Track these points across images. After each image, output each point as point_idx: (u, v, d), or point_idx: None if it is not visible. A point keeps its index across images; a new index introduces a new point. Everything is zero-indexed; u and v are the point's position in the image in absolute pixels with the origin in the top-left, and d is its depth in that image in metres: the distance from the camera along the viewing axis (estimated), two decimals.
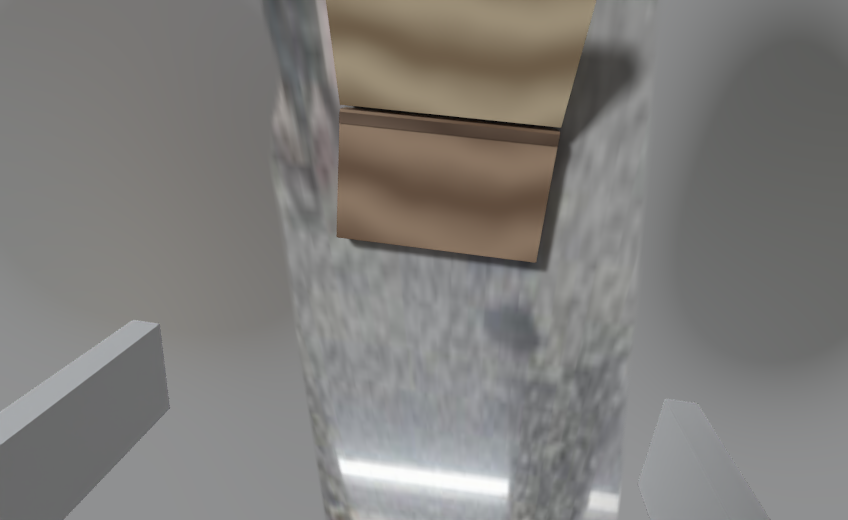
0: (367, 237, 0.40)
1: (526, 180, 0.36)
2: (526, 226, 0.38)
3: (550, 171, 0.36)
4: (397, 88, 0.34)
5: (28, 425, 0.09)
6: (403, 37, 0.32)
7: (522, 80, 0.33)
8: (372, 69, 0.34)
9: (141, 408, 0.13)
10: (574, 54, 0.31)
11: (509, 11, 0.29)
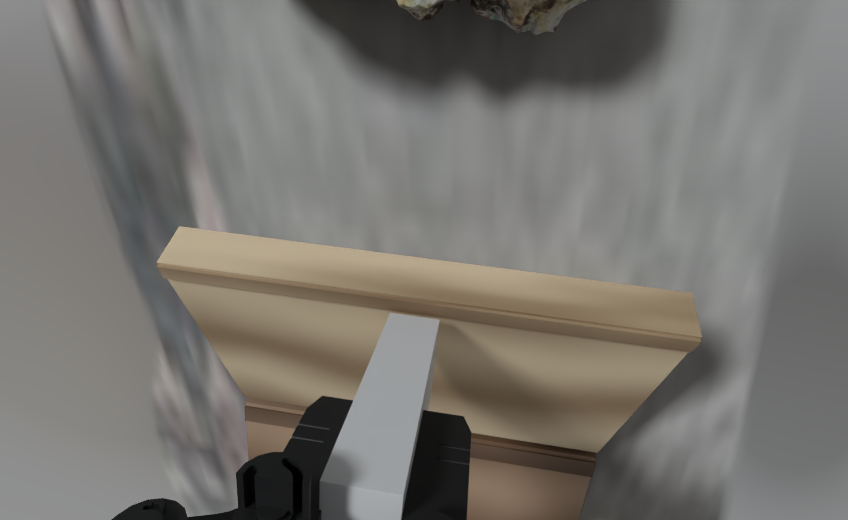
0: None
1: (539, 513, 0.23)
2: None
3: (578, 505, 0.23)
4: (330, 395, 0.21)
5: (387, 400, 0.11)
6: (331, 356, 0.18)
7: (536, 411, 0.19)
8: (287, 376, 0.20)
9: None
10: (629, 402, 0.17)
11: (516, 352, 0.16)
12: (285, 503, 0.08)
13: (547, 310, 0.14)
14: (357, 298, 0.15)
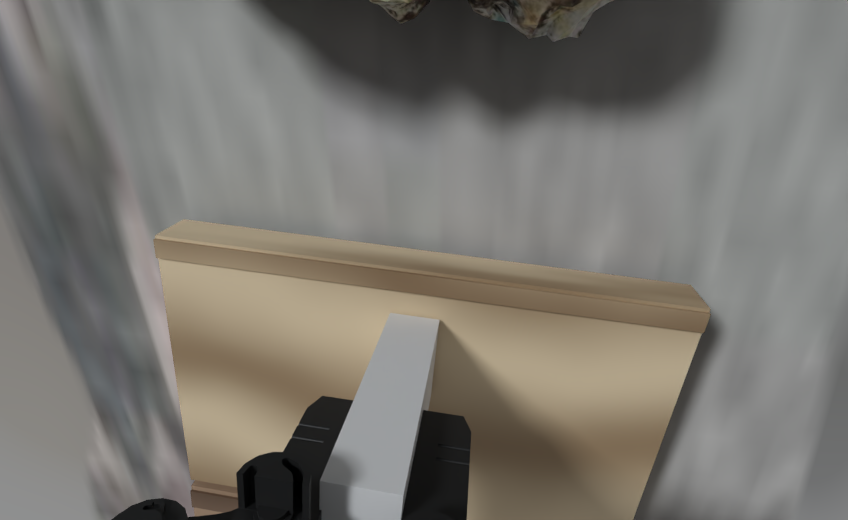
0: None
1: None
2: None
3: None
4: None
5: (387, 399, 0.11)
6: (313, 382, 0.16)
7: (543, 471, 0.16)
8: (253, 428, 0.17)
9: None
10: (648, 437, 0.15)
11: (520, 355, 0.15)
12: (285, 503, 0.08)
13: (552, 285, 0.14)
14: (358, 273, 0.14)
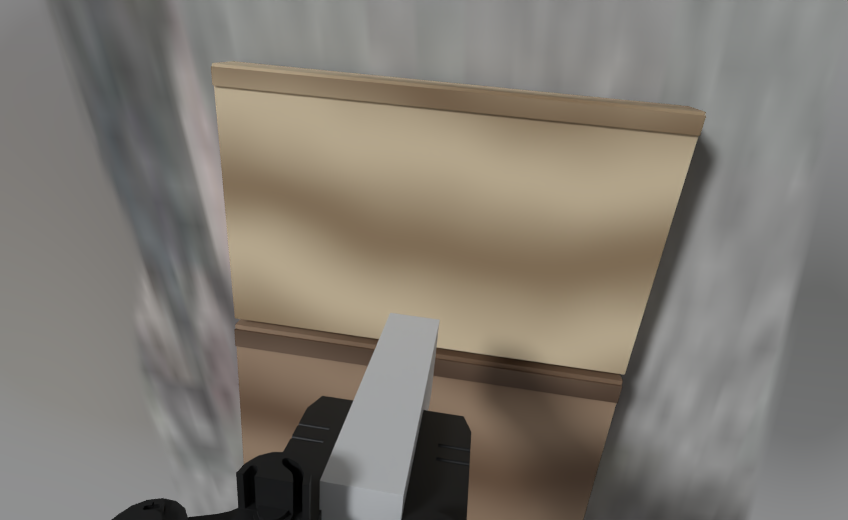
0: None
1: (558, 447, 0.21)
2: (557, 509, 0.22)
3: (602, 437, 0.21)
4: (335, 294, 0.20)
5: (387, 400, 0.11)
6: (350, 208, 0.18)
7: (556, 289, 0.18)
8: (294, 261, 0.19)
9: None
10: (651, 248, 0.17)
11: (537, 169, 0.17)
12: (285, 503, 0.08)
13: (566, 97, 0.16)
14: (394, 90, 0.16)
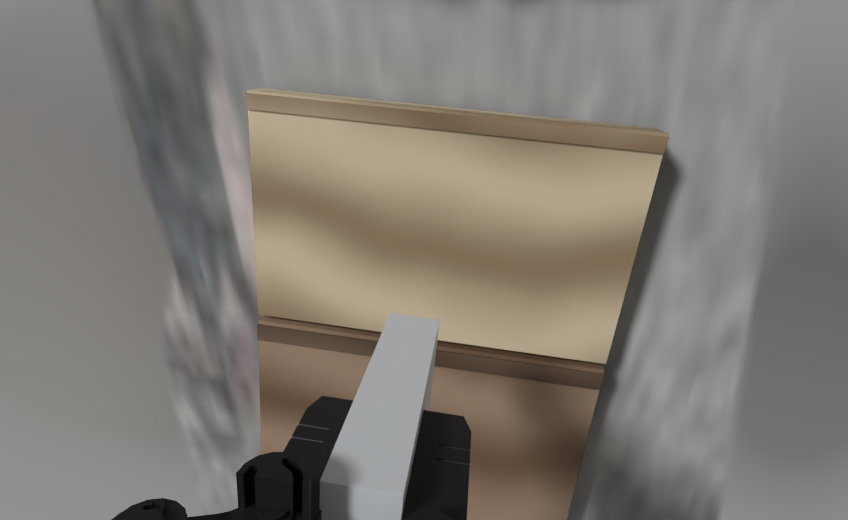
0: None
1: (548, 432, 0.23)
2: (548, 491, 0.24)
3: (587, 422, 0.23)
4: (349, 292, 0.22)
5: (387, 400, 0.11)
6: (363, 215, 0.21)
7: (544, 287, 0.21)
8: (312, 262, 0.22)
9: None
10: (625, 250, 0.20)
11: (526, 182, 0.19)
12: (285, 503, 0.08)
13: (550, 121, 0.18)
14: (404, 114, 0.19)
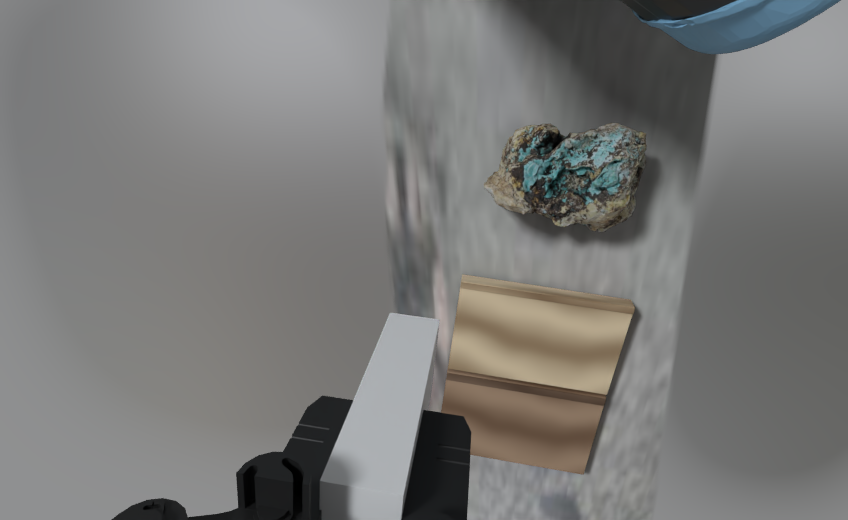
0: None
1: (579, 424, 0.51)
2: (578, 451, 0.52)
3: (597, 419, 0.50)
4: (493, 360, 0.49)
5: (387, 399, 0.11)
6: (504, 330, 0.48)
7: (581, 362, 0.48)
8: (478, 347, 0.49)
9: None
10: (616, 349, 0.47)
11: (576, 321, 0.46)
12: (285, 503, 0.08)
13: (587, 299, 0.46)
14: (527, 294, 0.46)
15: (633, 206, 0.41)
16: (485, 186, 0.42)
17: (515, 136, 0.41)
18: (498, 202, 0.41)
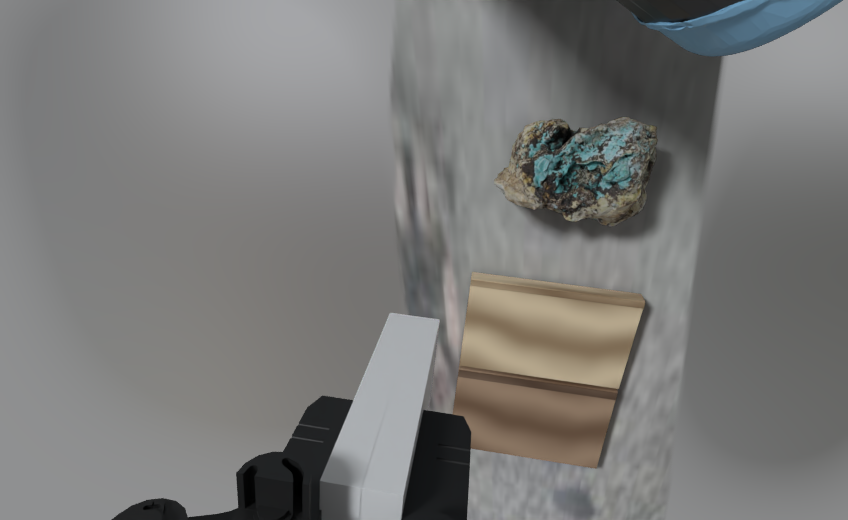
0: (472, 446, 0.54)
1: (591, 418, 0.51)
2: (590, 446, 0.52)
3: (609, 414, 0.51)
4: (504, 357, 0.50)
5: (387, 399, 0.11)
6: (515, 326, 0.48)
7: (592, 356, 0.48)
8: (489, 344, 0.49)
9: None
10: (627, 343, 0.47)
11: (587, 316, 0.47)
12: (285, 503, 0.08)
13: (597, 294, 0.46)
14: (537, 290, 0.46)
15: (644, 200, 0.41)
16: (495, 182, 0.42)
17: (525, 132, 0.41)
18: (509, 198, 0.41)
